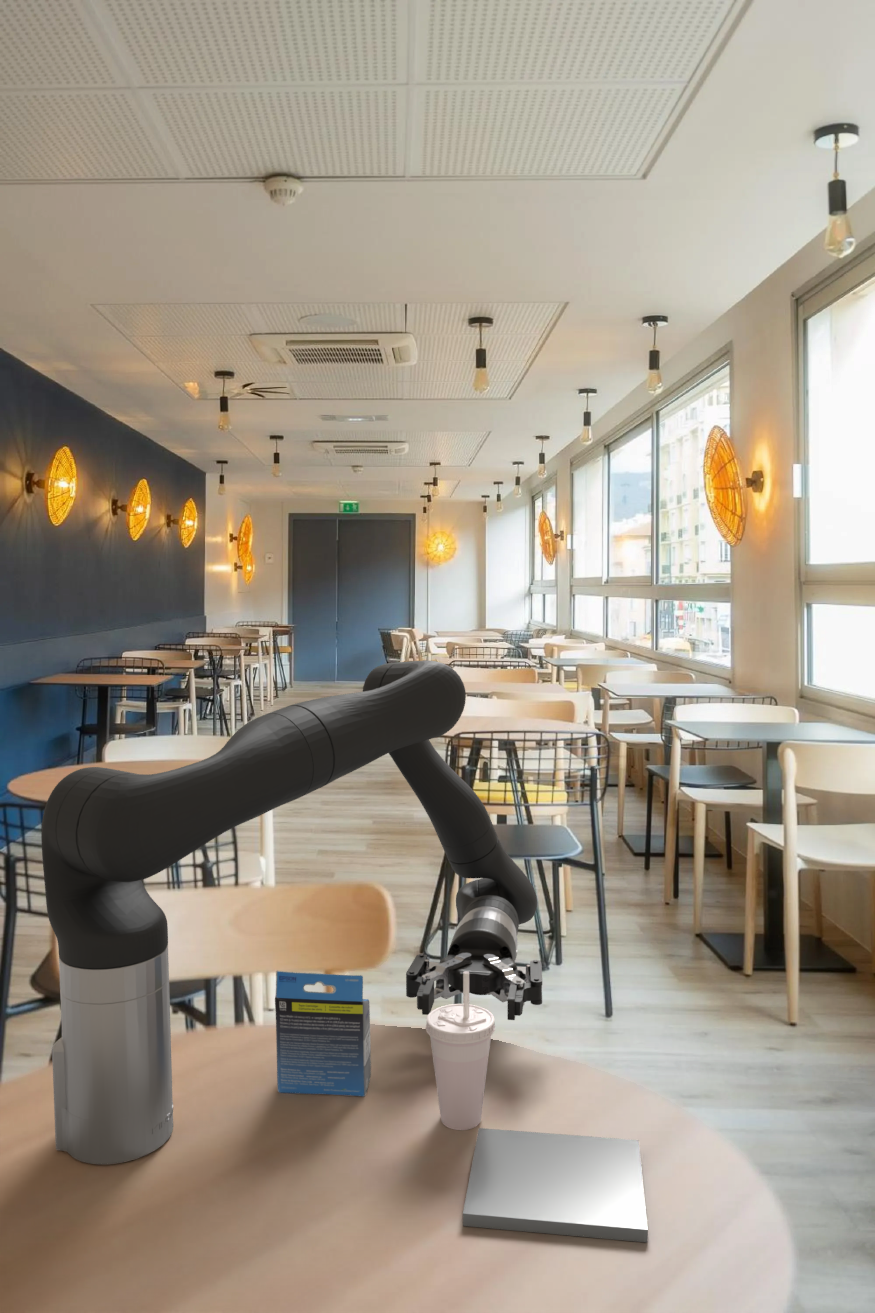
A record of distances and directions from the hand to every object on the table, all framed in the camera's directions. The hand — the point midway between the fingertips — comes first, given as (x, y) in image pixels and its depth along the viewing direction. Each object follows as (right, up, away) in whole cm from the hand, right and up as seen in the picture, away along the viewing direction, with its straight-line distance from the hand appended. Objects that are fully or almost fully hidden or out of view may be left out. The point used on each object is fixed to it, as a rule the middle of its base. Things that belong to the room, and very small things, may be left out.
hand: (468, 1008), depth 98 cm
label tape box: (-14, -8, 0) cm, 16 cm away
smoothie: (-1, -8, -6) cm, 10 cm away
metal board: (+7, -9, -17) cm, 20 cm away
